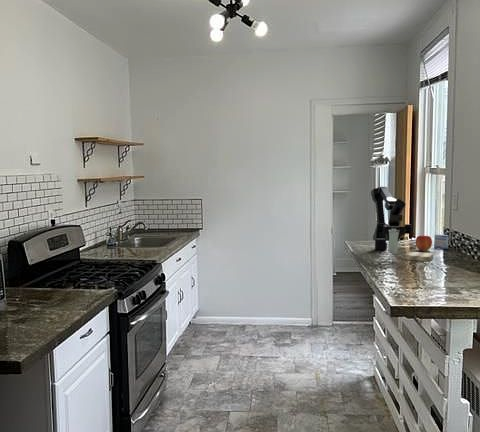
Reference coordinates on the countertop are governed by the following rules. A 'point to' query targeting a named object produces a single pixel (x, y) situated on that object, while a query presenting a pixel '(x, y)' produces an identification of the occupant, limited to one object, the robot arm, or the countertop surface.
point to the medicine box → (441, 241)
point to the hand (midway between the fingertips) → (393, 240)
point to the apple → (423, 243)
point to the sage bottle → (393, 241)
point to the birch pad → (419, 256)
